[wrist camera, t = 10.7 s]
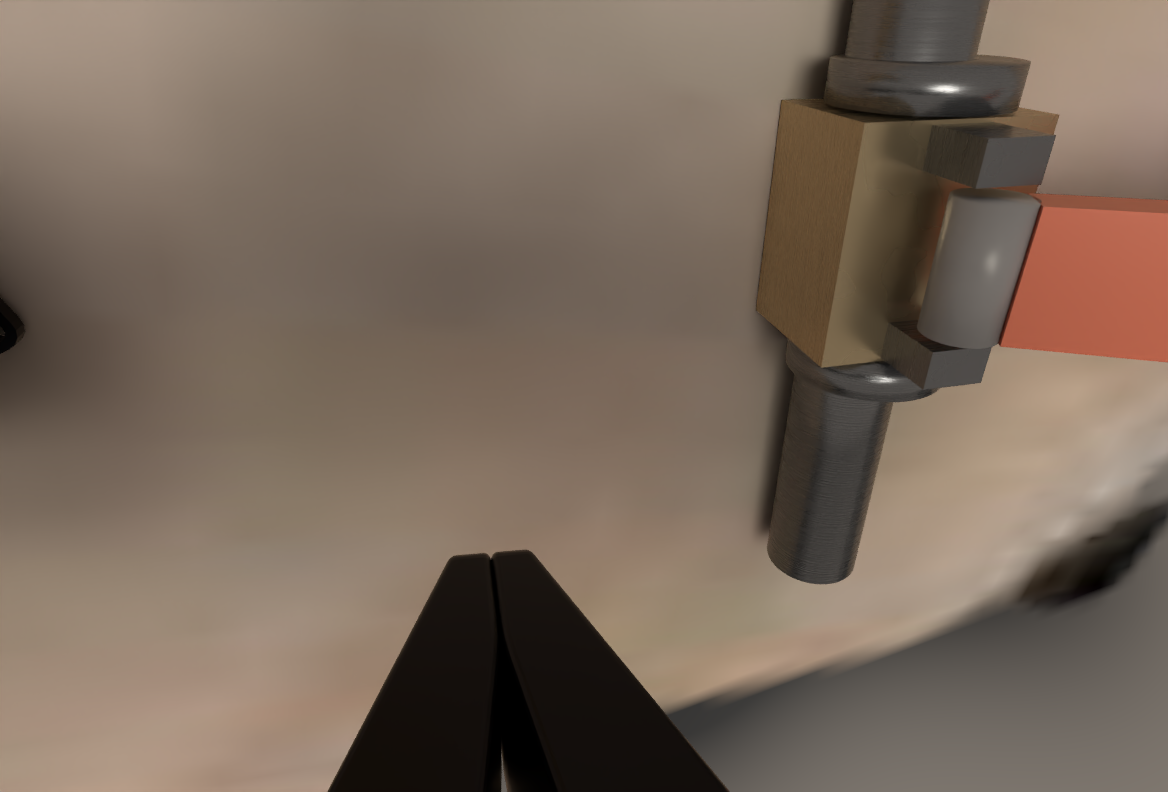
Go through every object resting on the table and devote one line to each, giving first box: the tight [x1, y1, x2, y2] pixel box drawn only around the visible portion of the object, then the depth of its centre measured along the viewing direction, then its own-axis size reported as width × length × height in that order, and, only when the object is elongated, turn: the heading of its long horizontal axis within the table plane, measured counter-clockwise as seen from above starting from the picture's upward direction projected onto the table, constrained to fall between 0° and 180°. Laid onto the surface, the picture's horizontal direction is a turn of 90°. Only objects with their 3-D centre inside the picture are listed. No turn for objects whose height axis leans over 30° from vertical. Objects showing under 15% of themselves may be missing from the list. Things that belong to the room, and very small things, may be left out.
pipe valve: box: [756, 0, 1059, 584], centre depth 19 cm, size 5×24×6 cm, turn 0°
